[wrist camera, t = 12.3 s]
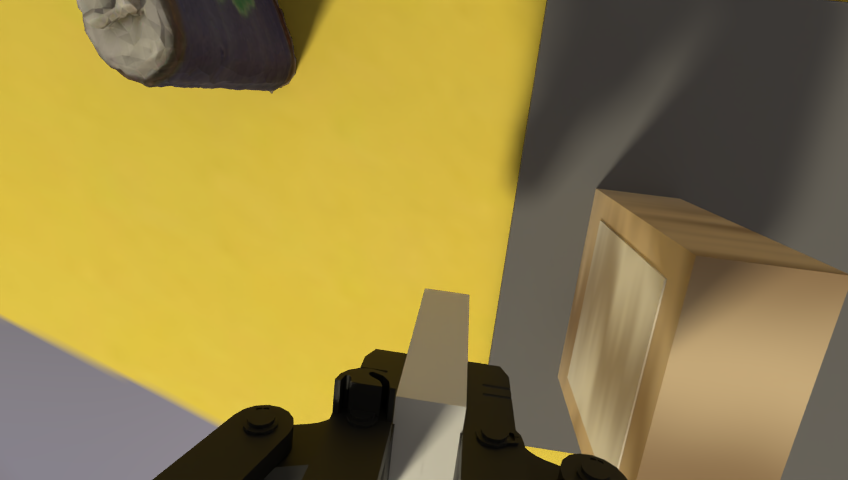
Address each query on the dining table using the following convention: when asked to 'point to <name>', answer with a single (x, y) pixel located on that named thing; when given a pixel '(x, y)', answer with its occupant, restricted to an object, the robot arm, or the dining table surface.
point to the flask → (193, 42)
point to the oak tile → (692, 341)
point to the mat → (678, 170)
